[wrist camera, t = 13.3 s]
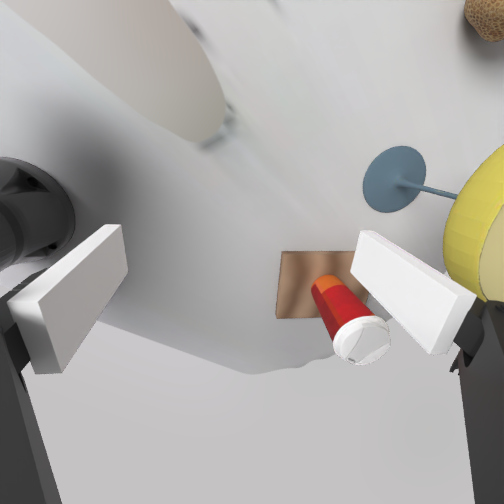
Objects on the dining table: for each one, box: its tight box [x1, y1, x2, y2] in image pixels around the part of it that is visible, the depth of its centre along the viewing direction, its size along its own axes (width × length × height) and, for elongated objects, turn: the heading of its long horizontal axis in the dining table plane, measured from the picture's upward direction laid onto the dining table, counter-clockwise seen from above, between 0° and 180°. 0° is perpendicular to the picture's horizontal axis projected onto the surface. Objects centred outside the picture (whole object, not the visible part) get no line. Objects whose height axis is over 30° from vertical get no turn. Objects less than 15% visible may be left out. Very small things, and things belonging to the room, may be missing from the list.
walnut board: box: [275, 251, 369, 319], centre depth 49 cm, size 18×14×2 cm
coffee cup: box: [311, 275, 391, 365], centre depth 42 cm, size 8×8×15 cm
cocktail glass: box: [363, 144, 504, 302], centre depth 31 cm, size 18×18×25 cm
